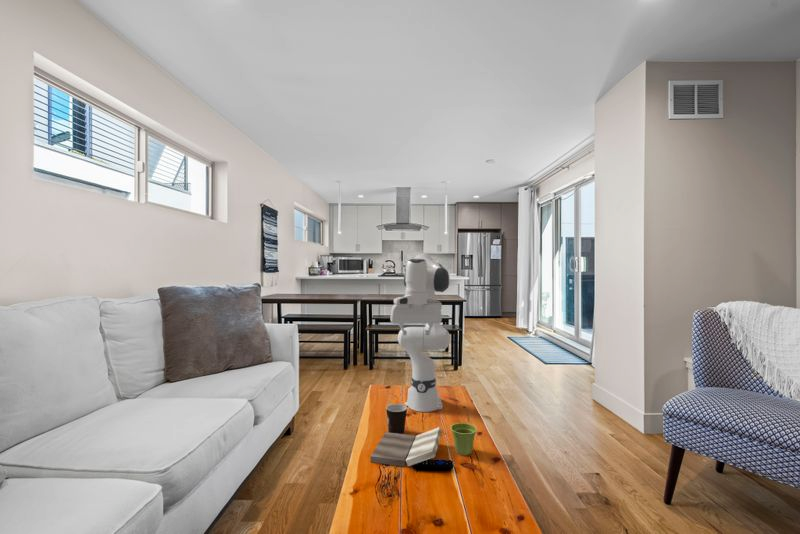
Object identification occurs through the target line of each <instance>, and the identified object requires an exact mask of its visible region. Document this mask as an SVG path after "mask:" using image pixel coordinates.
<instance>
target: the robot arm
mask: <svg viewBox="0 0 800 534" xmlns="http://www.w3.org/2000/svg"><path fill="white" fill-rule="evenodd" d="M405 267H406V268H405V270H404V272H403V285H404V286H405V292H404V293H405V295H401V296H399V297H396V298H394V299H393V305H392V307H391V309H390V319H389V320H390V323H391V324H394V325H395V324H396V325H399V326H398V327H399V328H400V330H399V331H398V335H397V342H398V345H399V346H400V347H401V348H402V349H404V351H405V352H406V353H407V355H408V356H409V358H410V362H411V369H412V373H411V374H412V375H411V380H410V382H411V383H410V385H411V386H410V387H409V388H408V389H407V390H408V391H407V400H406V401H405V402H404V404H405V405H406V407H407V406H408V407H407V408H408V409H410V408H411V410H412V411H416V412H422V413H423V412H426V413H428V412H433V411H437V410H443V408H444V407H443V403H442V398H441V396H439V390H438V389H437V379H436V365H435V364H436V363H435V361H434V359H433V358H431V357H429V356H428V355H426V354H424V352H423V350H424V351H440V350H445V349H447V348H448V347H449V346H450V344H451V335H450V333H449V331H448V330H447V329H446V328H445V327H444V326H443V325H441V322H443V321H442V320H443V319H442V318H443V317H442V306H443V305H442V304H443V303H442V302H441V301H439V300H438V299H436V293H437V292H439V293H444V292H445V291H447V290H448V288H449V287H450V282H451V281H450V279H451V278H450V273H449V271H448V270H447V269H446V268H445V267H444V266H443V265H442V264H441V263H439V262H436V260H434V259H433V257H432V256H431V255H430V254H427V253H425V252H424V253H419V254H418V255H416V256H415V257H414V258H411V259H408V260H407V261H406V266H405ZM435 292H436V293H435ZM407 324H410V325H411V324H415V325H416V324H422V326H407V327H404V326H405V325H407ZM405 405H404V406H405Z"/></svg>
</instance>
